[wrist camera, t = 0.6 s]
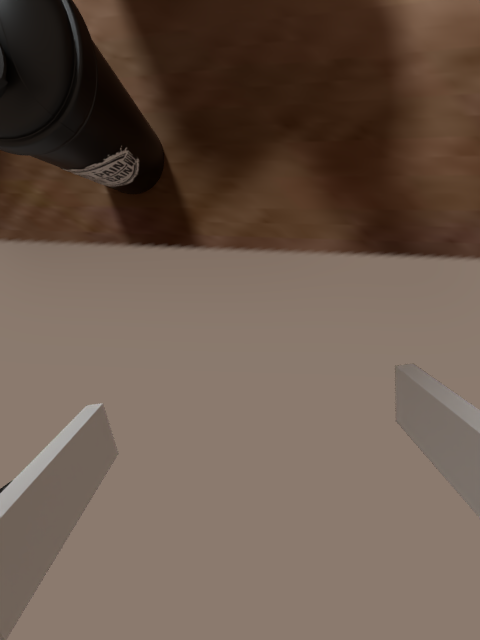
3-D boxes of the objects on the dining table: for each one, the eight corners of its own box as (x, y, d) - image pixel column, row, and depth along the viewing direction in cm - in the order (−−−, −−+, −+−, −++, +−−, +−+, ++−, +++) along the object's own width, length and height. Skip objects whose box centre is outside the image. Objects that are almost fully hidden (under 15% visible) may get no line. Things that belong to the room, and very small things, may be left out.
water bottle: (104, 209, 36) (-118, 144, 14) (77, 121, 34) (-243, -126, 12) (180, 191, 36) (73, 94, 13) (157, 100, 33) (-17, -203, 11)
